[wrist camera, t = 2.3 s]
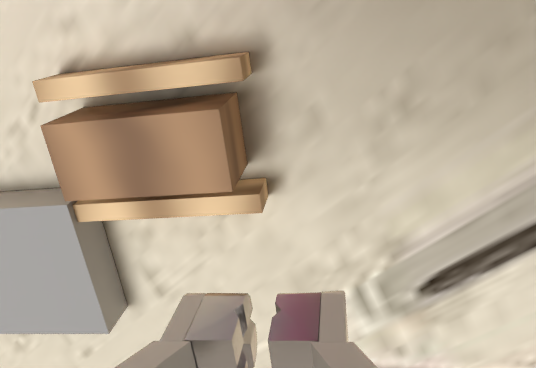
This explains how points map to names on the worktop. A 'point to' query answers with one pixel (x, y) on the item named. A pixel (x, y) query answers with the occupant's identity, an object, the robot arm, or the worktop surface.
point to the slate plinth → (54, 268)
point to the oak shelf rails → (148, 79)
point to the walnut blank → (148, 148)
